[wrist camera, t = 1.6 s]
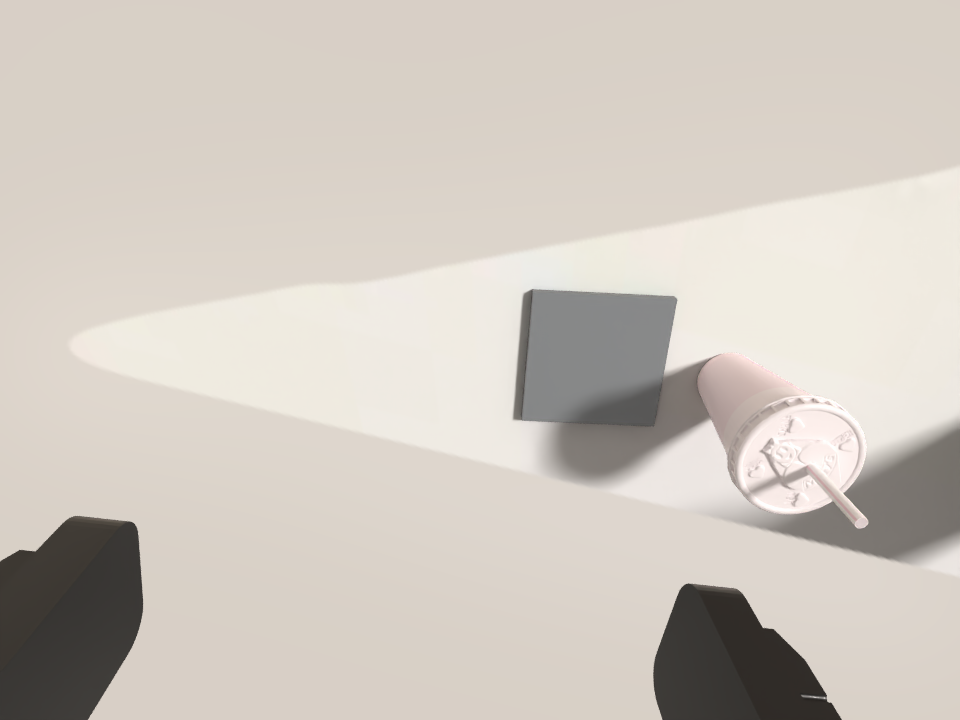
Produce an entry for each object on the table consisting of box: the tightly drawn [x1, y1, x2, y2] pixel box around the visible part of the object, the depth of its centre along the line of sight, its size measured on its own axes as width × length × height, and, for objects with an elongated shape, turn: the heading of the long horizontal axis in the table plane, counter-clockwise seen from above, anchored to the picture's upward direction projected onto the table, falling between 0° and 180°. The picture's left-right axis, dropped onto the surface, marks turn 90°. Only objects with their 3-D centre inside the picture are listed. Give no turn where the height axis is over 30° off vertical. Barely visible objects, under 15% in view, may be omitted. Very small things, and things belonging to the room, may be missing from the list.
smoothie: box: [697, 353, 868, 529], centre depth 32 cm, size 6×6×14 cm
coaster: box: [521, 289, 677, 426], centre depth 38 cm, size 8×8×1 cm
